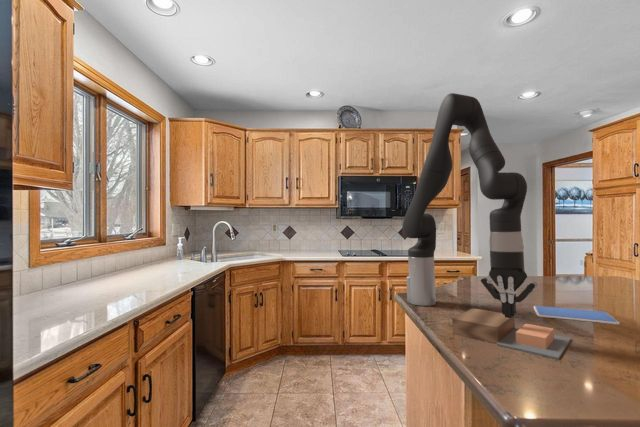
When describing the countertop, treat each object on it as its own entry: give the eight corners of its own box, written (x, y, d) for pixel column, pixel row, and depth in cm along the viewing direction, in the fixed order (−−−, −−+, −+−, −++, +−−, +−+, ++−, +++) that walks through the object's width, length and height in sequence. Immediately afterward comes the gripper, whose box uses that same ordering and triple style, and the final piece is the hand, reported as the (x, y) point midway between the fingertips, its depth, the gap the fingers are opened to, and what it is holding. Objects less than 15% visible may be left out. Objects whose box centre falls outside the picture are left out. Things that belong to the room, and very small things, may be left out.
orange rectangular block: (545, 338, 73) (546, 349, 73) (553, 328, 79) (554, 338, 79) (515, 332, 77) (516, 342, 77) (525, 323, 83) (526, 333, 83)
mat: (496, 345, 77) (496, 343, 77) (515, 329, 88) (515, 327, 88) (558, 359, 68) (558, 357, 68) (570, 339, 79) (570, 337, 79)
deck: (453, 333, 85) (452, 318, 85) (472, 321, 95) (472, 308, 95) (498, 344, 77) (497, 327, 77) (514, 329, 87) (514, 315, 87)
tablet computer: (606, 315, 100) (606, 311, 101) (621, 327, 89) (621, 322, 89) (533, 309, 110) (533, 305, 110) (538, 318, 98) (538, 314, 98)
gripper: (473, 249, 85) (476, 315, 84) (532, 251, 75) (536, 326, 74) (484, 247, 90) (486, 309, 89) (540, 249, 80) (543, 319, 80)
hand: (509, 317), depth 82 cm, fingers closed
